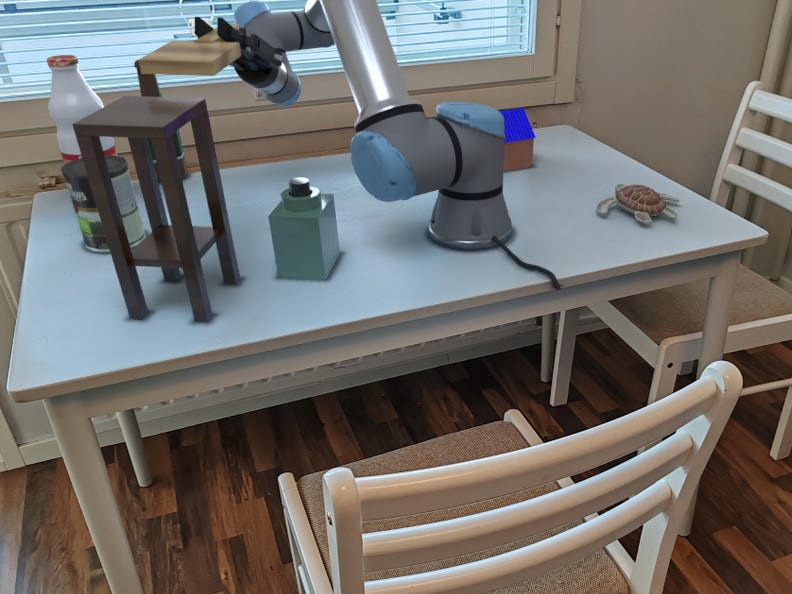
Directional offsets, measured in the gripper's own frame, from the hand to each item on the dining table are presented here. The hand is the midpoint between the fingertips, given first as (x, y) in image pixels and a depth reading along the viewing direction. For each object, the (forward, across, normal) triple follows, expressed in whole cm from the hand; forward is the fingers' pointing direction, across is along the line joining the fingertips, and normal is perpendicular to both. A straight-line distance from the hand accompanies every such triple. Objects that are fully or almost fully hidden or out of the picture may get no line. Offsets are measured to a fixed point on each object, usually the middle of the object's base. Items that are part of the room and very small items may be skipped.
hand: (208, 26), depth 118 cm
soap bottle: (-5, -16, -37) cm, 41 cm away
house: (-52, -42, -12) cm, 68 cm away
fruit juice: (-24, +31, -27) cm, 48 cm away
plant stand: (+6, 0, -43) cm, 44 cm away
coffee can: (-11, +21, -34) cm, 42 cm away
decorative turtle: (-31, -74, -23) cm, 84 cm away
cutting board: (0, 0, -4) cm, 4 cm away
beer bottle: (-40, +26, -19) cm, 51 cm away
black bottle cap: (+1, -16, -26) cm, 30 cm away
